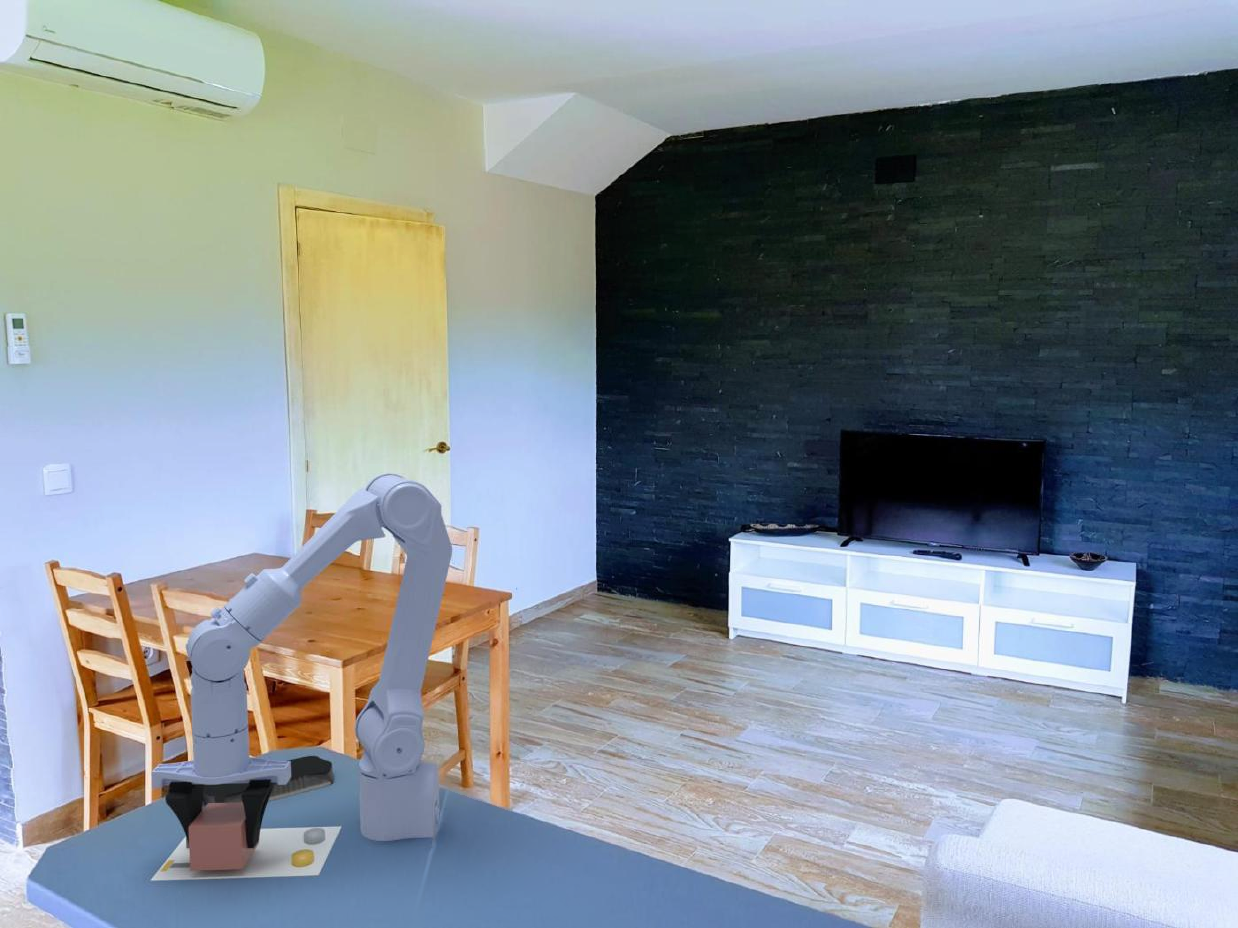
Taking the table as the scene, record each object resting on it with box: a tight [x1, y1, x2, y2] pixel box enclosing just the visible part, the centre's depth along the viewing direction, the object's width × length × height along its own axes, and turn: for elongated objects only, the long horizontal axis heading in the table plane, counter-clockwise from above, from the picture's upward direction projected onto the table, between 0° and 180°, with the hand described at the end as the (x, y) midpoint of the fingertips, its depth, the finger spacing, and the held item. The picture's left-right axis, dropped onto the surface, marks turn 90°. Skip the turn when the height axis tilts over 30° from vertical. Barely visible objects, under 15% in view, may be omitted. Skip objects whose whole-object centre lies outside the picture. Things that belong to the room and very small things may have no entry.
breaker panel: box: [150, 825, 342, 882], centre depth 107 cm, size 18×11×4 cm, turn 94°
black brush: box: [203, 755, 334, 805], centre depth 123 cm, size 16×8×4 cm, turn 126°
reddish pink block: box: [188, 802, 259, 871], centre depth 104 cm, size 6×6×5 cm
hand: (225, 844), depth 104 cm, fingers closed on reddish pink block, 6 cm apart
